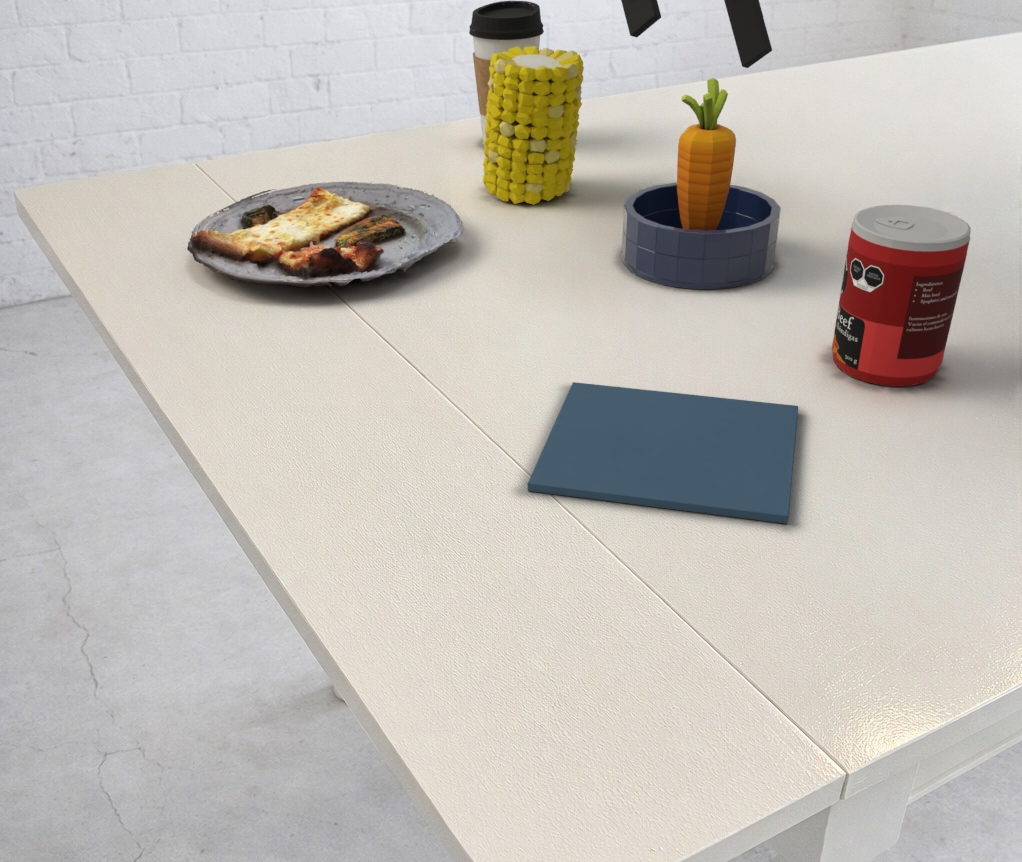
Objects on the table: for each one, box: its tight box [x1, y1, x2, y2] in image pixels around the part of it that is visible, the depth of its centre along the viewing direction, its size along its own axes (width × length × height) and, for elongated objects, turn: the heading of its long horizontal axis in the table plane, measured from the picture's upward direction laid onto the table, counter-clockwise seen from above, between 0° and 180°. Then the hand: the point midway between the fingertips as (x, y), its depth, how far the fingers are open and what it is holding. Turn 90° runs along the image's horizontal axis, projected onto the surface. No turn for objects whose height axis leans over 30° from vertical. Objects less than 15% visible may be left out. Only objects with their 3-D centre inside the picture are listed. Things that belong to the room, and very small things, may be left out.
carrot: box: [676, 78, 737, 231], centre depth 98 cm, size 5×5×15 cm
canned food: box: [831, 204, 972, 387], centre depth 81 cm, size 8×8×11 cm
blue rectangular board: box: [527, 381, 799, 525], centre depth 74 cm, size 16×14×1 cm
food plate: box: [186, 181, 464, 291], centre depth 104 cm, size 25×23×4 cm
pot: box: [621, 181, 782, 290], centre depth 101 cm, size 14×14×5 cm
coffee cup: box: [468, 0, 545, 147], centre depth 129 cm, size 8×8×15 cm
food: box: [482, 46, 585, 206], centre depth 114 cm, size 15×12×10 cm
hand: (704, 43), depth 91 cm, fingers open, 13 cm apart
